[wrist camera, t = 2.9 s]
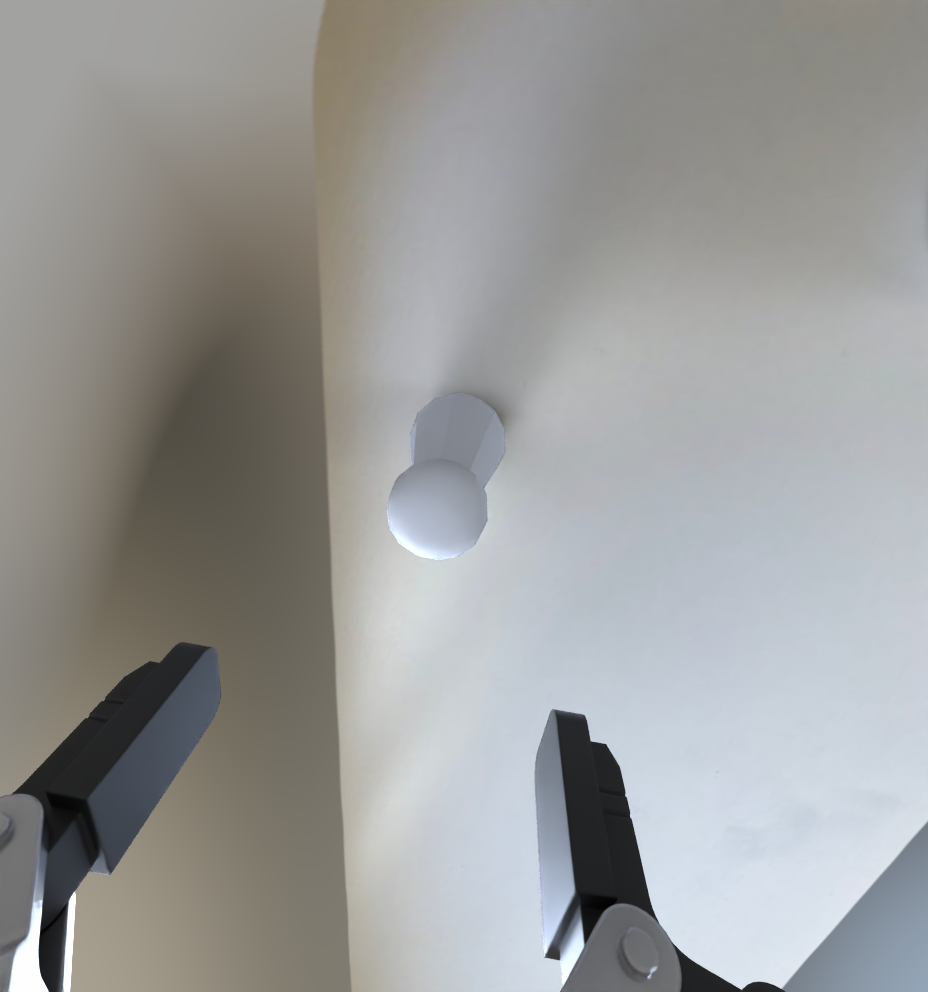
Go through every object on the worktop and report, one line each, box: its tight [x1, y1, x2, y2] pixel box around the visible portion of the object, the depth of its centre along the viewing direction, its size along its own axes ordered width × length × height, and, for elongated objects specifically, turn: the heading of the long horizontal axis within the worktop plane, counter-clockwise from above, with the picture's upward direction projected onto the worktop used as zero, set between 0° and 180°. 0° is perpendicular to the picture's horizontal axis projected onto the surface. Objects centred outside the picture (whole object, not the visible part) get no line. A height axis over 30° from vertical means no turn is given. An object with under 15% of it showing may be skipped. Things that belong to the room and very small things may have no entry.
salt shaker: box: [387, 393, 505, 560], centre depth 25 cm, size 6×6×13 cm
